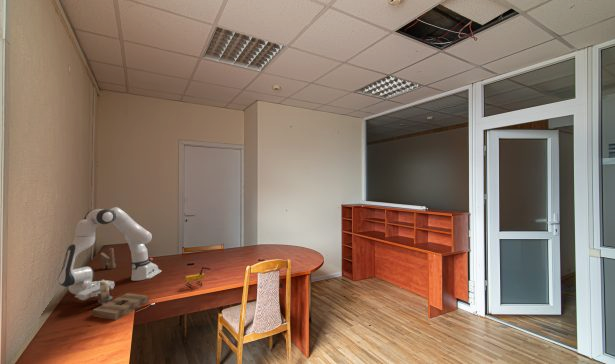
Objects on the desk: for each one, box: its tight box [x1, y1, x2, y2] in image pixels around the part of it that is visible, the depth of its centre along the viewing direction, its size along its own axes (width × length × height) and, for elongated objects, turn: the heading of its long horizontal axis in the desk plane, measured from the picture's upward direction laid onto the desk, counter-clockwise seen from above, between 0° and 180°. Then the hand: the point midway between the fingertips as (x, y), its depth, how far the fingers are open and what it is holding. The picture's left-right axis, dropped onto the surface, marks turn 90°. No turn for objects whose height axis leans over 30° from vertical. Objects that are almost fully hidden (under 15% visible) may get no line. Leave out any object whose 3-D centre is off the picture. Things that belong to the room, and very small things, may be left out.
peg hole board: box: [92, 292, 150, 321], centre depth 171 cm, size 22×18×4 cm
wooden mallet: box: [100, 247, 117, 270], centre depth 246 cm, size 4×11×18 cm, turn 90°
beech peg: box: [97, 280, 114, 306], centre depth 178 cm, size 8×8×15 cm
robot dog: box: [183, 266, 211, 289], centre depth 200 cm, size 6×18×13 cm, turn 109°
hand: (105, 291), depth 178 cm, fingers open, 8 cm apart
